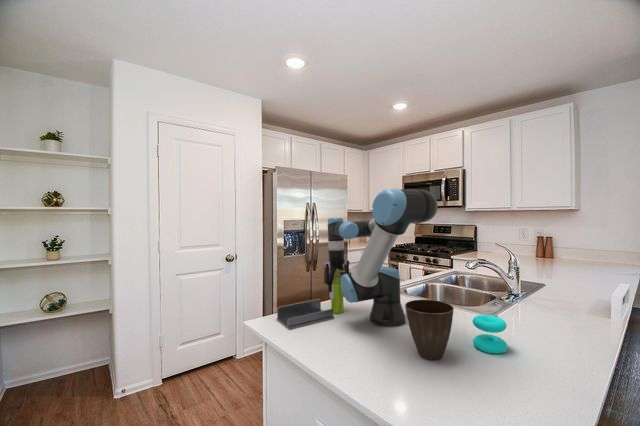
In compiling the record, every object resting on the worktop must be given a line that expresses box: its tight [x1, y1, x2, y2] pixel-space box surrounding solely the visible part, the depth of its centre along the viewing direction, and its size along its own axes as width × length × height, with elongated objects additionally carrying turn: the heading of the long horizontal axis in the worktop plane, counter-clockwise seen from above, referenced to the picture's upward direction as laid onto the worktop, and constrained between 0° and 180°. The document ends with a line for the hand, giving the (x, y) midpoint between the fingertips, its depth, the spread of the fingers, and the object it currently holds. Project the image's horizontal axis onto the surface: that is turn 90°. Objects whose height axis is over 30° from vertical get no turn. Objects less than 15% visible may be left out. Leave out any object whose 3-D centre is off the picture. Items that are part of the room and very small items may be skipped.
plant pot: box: [404, 299, 455, 361], centre depth 97 cm, size 15×15×16 cm
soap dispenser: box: [330, 269, 345, 314], centre depth 142 cm, size 6×7×20 cm
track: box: [276, 298, 335, 331], centre depth 133 cm, size 14×22×6 cm, turn 120°
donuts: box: [471, 314, 508, 355], centre depth 100 cm, size 10×10×10 cm
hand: (337, 297), depth 142 cm, fingers closed on soap dispenser, 6 cm apart
